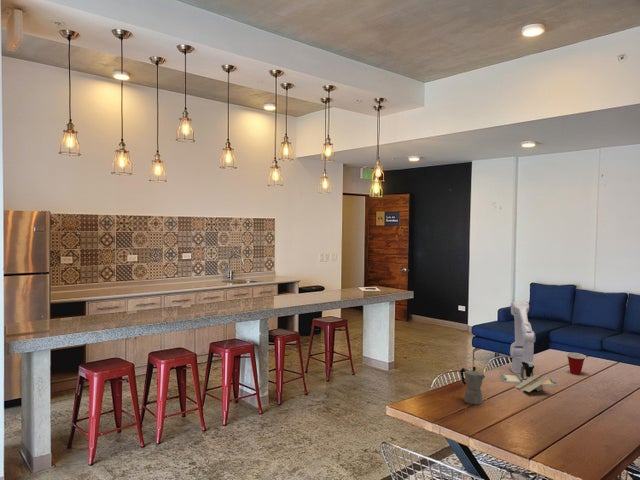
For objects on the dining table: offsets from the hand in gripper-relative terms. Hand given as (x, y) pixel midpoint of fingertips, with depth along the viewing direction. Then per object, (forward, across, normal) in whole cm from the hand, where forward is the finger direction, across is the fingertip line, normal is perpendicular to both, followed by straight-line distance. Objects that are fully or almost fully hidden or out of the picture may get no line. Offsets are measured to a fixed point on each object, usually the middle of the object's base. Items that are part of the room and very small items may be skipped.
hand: (527, 375), depth 285 cm
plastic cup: (+3, -24, +34) cm, 42 cm away
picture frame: (+2, 0, 0) cm, 2 cm away
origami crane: (+4, +18, -2) cm, 19 cm away
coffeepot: (+3, +43, -37) cm, 57 cm away
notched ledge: (+3, 0, 0) cm, 3 cm away
